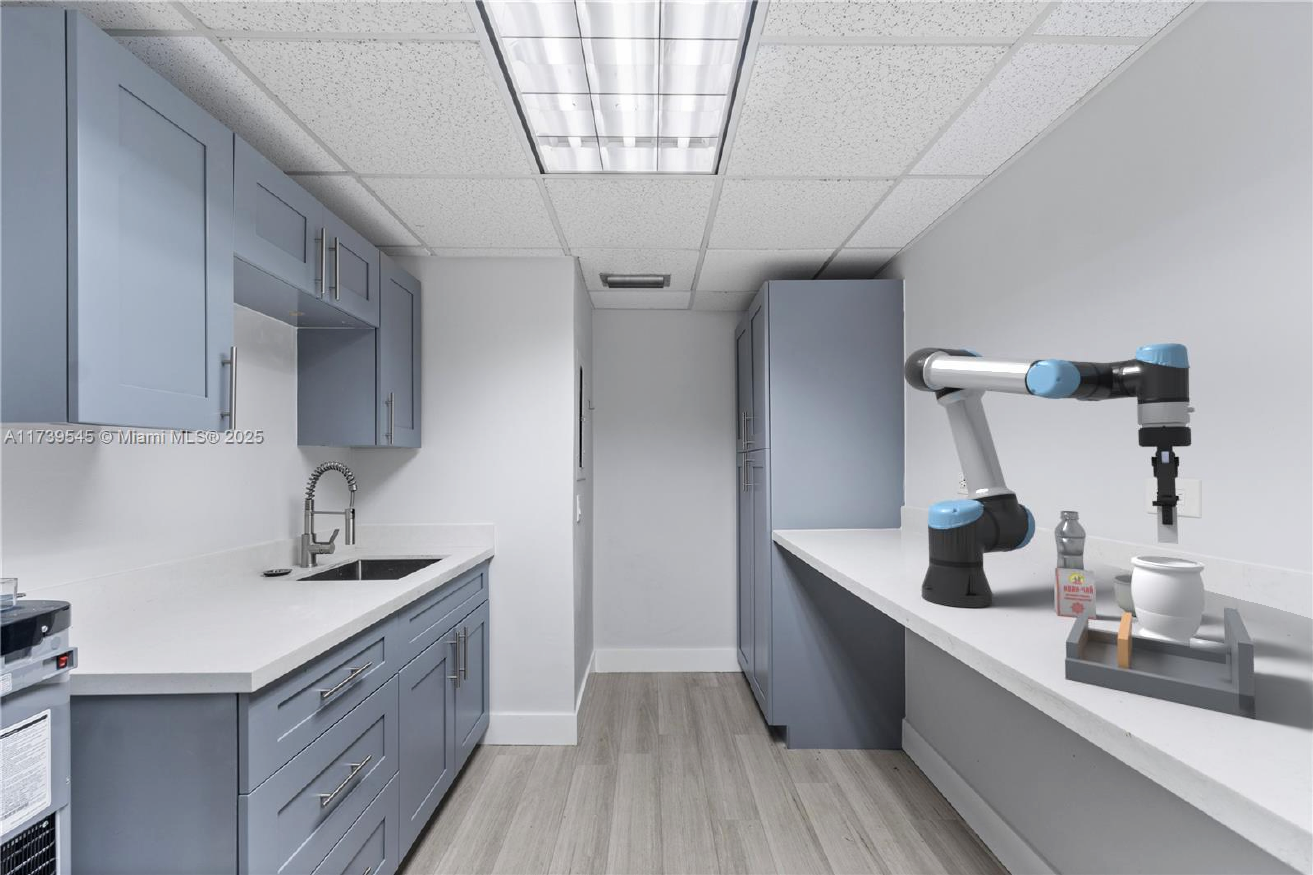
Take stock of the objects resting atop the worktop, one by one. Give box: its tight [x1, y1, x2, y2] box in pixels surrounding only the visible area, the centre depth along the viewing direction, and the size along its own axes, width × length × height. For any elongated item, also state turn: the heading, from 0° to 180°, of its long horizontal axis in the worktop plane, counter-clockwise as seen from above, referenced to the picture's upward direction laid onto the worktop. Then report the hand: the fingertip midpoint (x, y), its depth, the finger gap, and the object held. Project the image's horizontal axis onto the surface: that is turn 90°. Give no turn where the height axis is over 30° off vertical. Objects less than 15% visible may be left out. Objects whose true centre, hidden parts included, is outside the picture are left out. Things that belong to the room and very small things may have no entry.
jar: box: [1130, 555, 1206, 644], centre depth 109 cm, size 11×10×15 cm
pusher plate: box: [1117, 611, 1133, 669], centre depth 95 cm, size 1×18×6 cm, turn 139°
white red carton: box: [1053, 567, 1097, 621], centre depth 125 cm, size 4×7×10 cm, turn 63°
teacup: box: [1112, 572, 1137, 618], centre depth 126 cm, size 14×11×8 cm
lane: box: [1064, 606, 1256, 720], centre depth 93 cm, size 21×22×10 cm
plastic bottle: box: [1053, 510, 1087, 581], centre depth 145 cm, size 6×7×20 cm
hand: (1167, 538), depth 109 cm, fingers open, 13 cm apart
